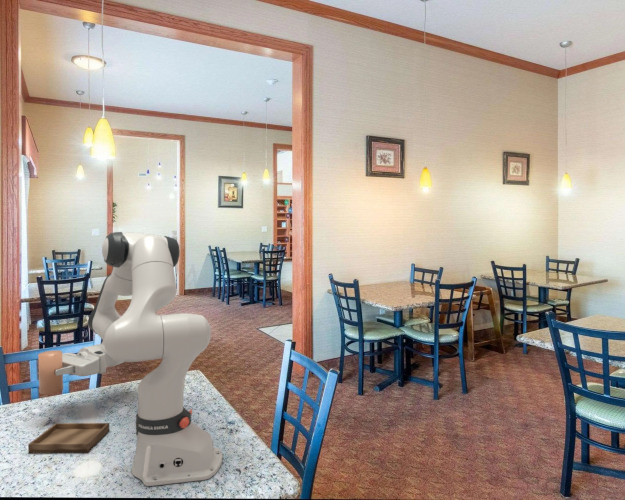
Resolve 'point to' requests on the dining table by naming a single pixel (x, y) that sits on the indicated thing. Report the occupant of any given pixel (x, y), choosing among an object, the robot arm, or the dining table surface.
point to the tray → (69, 438)
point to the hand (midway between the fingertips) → (47, 370)
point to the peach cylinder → (50, 372)
